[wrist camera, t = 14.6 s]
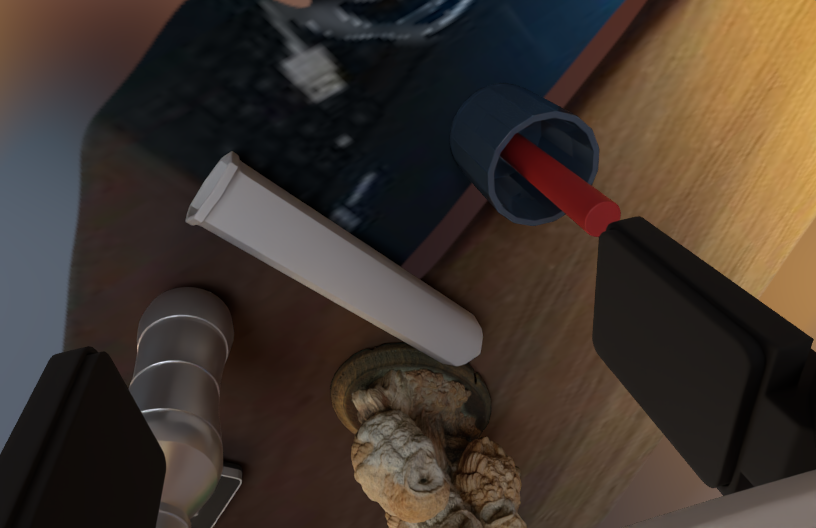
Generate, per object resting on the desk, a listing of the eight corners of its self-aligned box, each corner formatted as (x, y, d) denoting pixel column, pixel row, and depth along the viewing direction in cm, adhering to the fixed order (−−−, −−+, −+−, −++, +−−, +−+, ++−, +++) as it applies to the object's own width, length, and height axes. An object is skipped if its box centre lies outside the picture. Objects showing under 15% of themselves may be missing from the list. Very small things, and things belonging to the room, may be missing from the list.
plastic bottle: (150, 350, 42) (76, 621, 25) (138, 275, 39) (43, 528, 22) (237, 345, 43) (222, 596, 27) (233, 273, 40) (212, 507, 23)
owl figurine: (522, 382, 53) (618, 543, 39) (452, 461, 57) (516, 635, 42) (372, 317, 45) (423, 490, 31) (301, 414, 49) (317, 609, 34)
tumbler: (444, 93, 37) (485, 125, 30) (542, 74, 38) (602, 101, 31) (453, 189, 41) (491, 236, 34) (542, 169, 42) (595, 211, 35)
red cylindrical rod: (486, 127, 38) (585, 206, 27) (513, 121, 39) (622, 197, 27) (488, 153, 39) (584, 241, 28) (513, 148, 40) (619, 232, 28)
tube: (506, 332, 44) (238, 153, 32) (471, 387, 44) (187, 229, 32) (472, 311, 49) (226, 148, 36) (440, 361, 48) (182, 214, 36)
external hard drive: (123, 523, 50) (118, 543, 49) (170, 443, 47) (166, 461, 45) (197, 535, 53) (194, 554, 52) (245, 460, 50) (245, 478, 48)
